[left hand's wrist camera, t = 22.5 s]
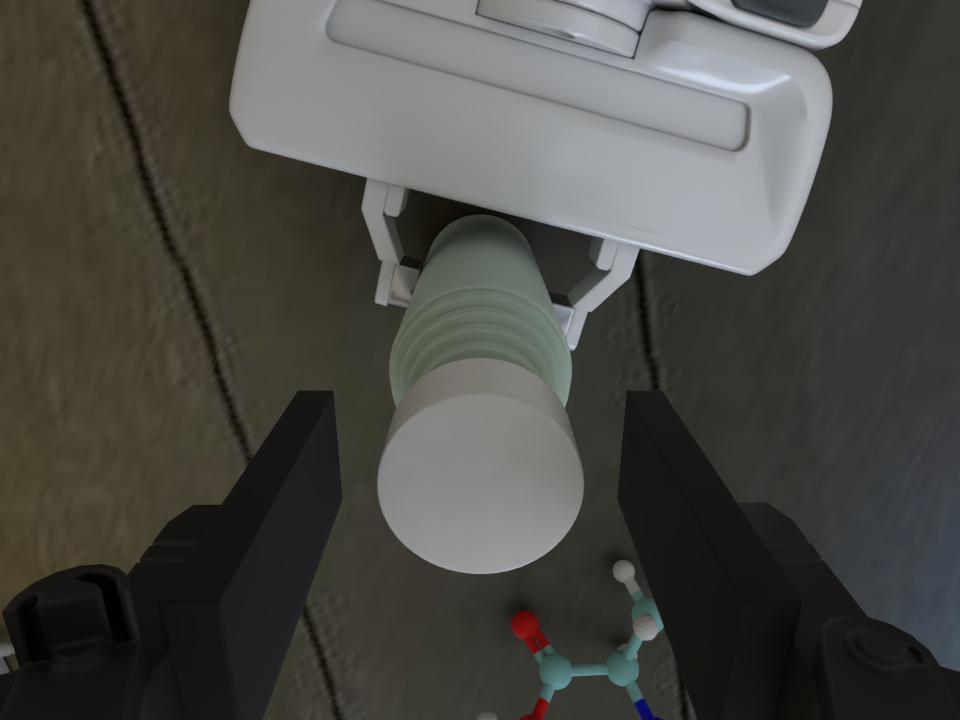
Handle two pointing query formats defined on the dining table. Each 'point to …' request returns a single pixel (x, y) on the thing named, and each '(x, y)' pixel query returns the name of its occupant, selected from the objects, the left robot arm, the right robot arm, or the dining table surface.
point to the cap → (480, 468)
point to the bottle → (480, 308)
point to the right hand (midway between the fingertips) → (476, 323)
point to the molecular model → (617, 666)
